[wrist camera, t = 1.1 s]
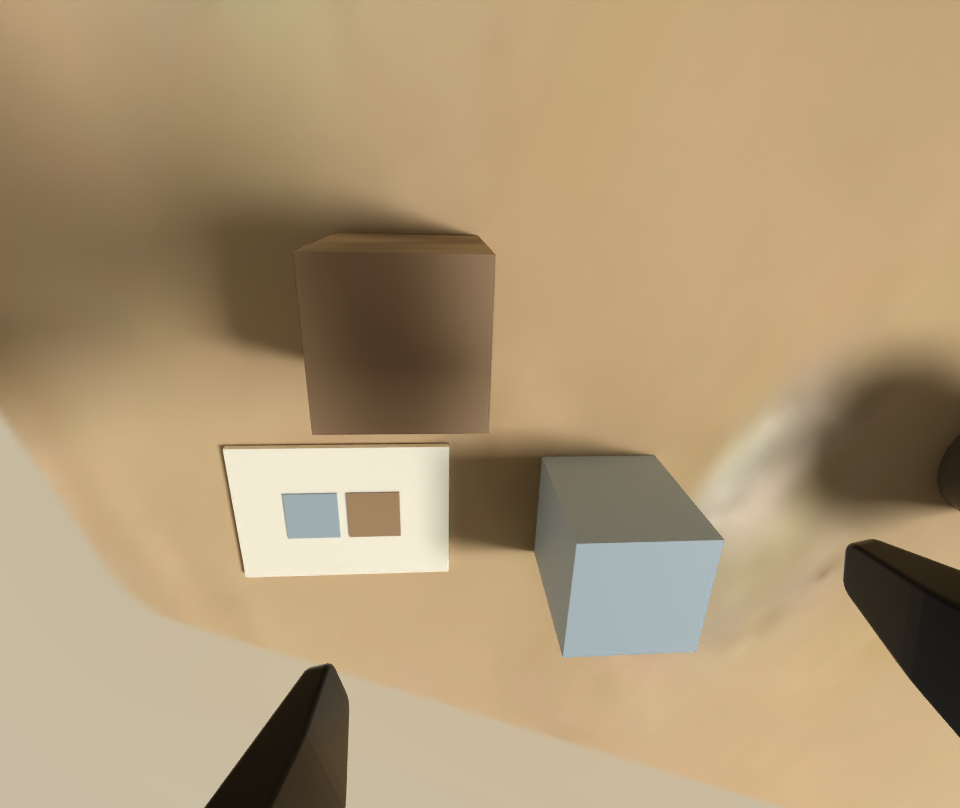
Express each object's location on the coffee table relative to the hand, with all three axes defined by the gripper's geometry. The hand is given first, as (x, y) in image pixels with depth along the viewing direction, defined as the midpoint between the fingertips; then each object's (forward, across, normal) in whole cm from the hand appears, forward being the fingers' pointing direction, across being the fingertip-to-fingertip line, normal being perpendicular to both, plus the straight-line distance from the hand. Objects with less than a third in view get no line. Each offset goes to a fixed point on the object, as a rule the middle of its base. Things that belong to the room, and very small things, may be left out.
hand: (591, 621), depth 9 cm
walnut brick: (+13, +3, -4) cm, 14 cm away
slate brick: (+13, -3, +7) cm, 15 cm away
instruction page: (+13, +8, +4) cm, 16 cm away
